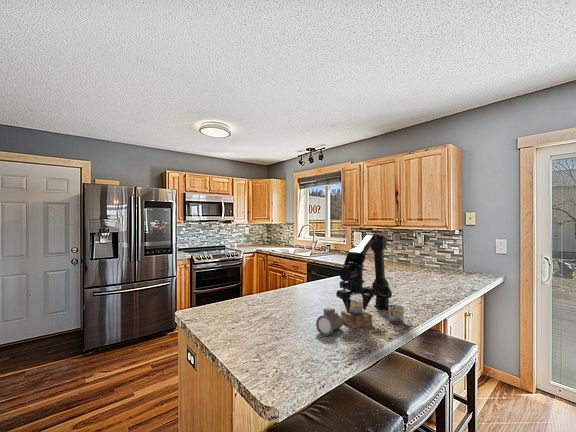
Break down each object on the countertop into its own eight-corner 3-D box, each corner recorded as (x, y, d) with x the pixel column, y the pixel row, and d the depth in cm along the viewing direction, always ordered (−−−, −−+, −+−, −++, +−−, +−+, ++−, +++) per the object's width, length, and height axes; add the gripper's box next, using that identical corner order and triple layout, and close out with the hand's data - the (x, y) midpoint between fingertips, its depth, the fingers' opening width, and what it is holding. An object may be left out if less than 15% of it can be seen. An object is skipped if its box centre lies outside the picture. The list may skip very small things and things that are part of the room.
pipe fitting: (331, 337, 112) (331, 311, 114) (315, 334, 118) (315, 309, 119) (346, 332, 121) (346, 308, 123) (331, 329, 126) (330, 305, 128)
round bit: (396, 318, 135) (396, 304, 135) (407, 323, 129) (406, 308, 129) (385, 320, 132) (385, 305, 132) (396, 325, 126) (395, 310, 126)
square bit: (357, 318, 132) (357, 299, 132) (362, 321, 128) (362, 301, 129) (350, 319, 131) (350, 300, 131) (355, 322, 127) (355, 302, 127)
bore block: (358, 317, 136) (358, 308, 136) (372, 324, 127) (372, 315, 127) (341, 320, 132) (341, 311, 132) (354, 328, 123) (354, 318, 123)
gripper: (361, 272, 141) (361, 303, 141) (329, 276, 133) (330, 308, 133) (376, 277, 131) (376, 310, 130) (343, 280, 123) (343, 316, 123)
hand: (356, 311), depth 130 cm, fingers open, 9 cm apart
